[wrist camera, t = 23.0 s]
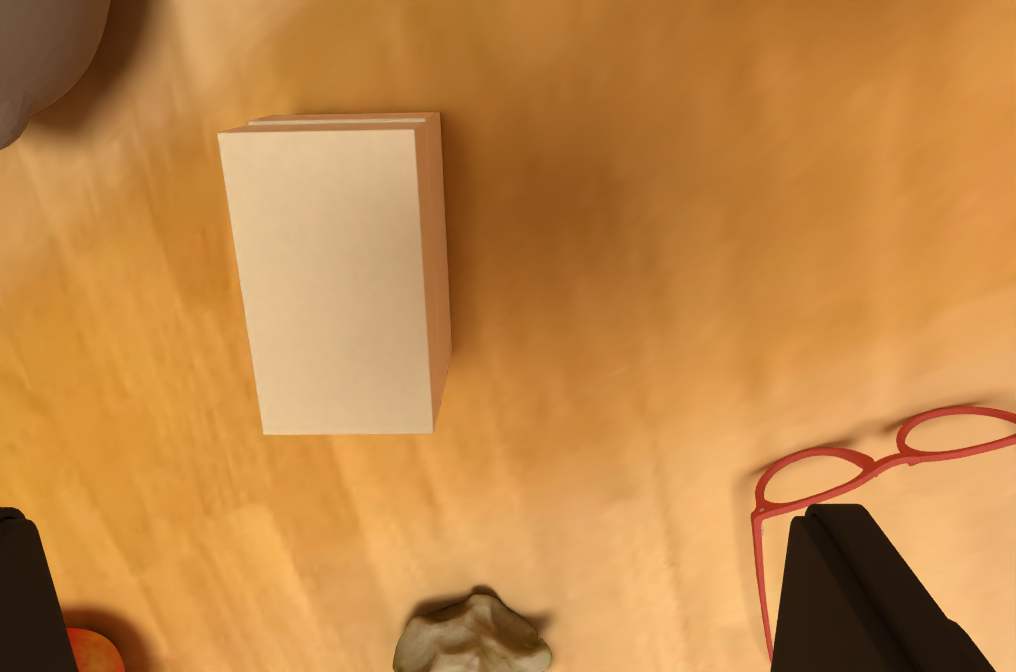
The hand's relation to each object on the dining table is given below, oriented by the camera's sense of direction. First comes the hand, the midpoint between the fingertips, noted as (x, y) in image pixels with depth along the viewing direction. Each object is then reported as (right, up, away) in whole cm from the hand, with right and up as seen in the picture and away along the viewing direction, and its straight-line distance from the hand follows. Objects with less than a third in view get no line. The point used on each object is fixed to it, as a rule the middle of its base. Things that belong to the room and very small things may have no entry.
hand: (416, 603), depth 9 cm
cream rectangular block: (-5, +6, +22) cm, 23 cm away
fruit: (-1, -15, +36) cm, 39 cm away
